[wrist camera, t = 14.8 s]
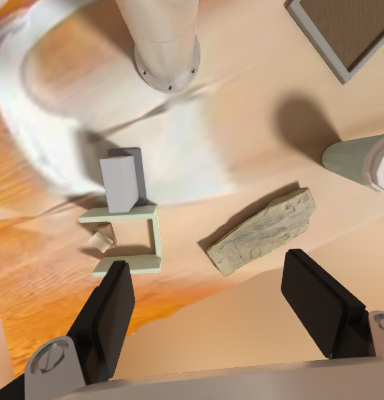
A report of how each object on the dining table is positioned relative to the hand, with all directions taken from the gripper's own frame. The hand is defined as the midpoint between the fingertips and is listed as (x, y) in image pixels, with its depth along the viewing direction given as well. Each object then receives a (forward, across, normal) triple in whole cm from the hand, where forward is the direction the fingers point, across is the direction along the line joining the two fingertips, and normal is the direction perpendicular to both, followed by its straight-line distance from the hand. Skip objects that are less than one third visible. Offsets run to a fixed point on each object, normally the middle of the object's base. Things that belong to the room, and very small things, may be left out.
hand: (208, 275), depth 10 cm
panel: (+33, +14, 0) cm, 36 cm away
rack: (+33, +16, +14) cm, 40 cm away
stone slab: (+34, -18, +15) cm, 42 cm away
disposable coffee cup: (+34, -35, -3) cm, 49 cm away
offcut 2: (+31, +22, +14) cm, 40 cm away
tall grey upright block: (+33, +14, -1) cm, 36 cm away
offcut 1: (+34, +21, +14) cm, 42 cm away
